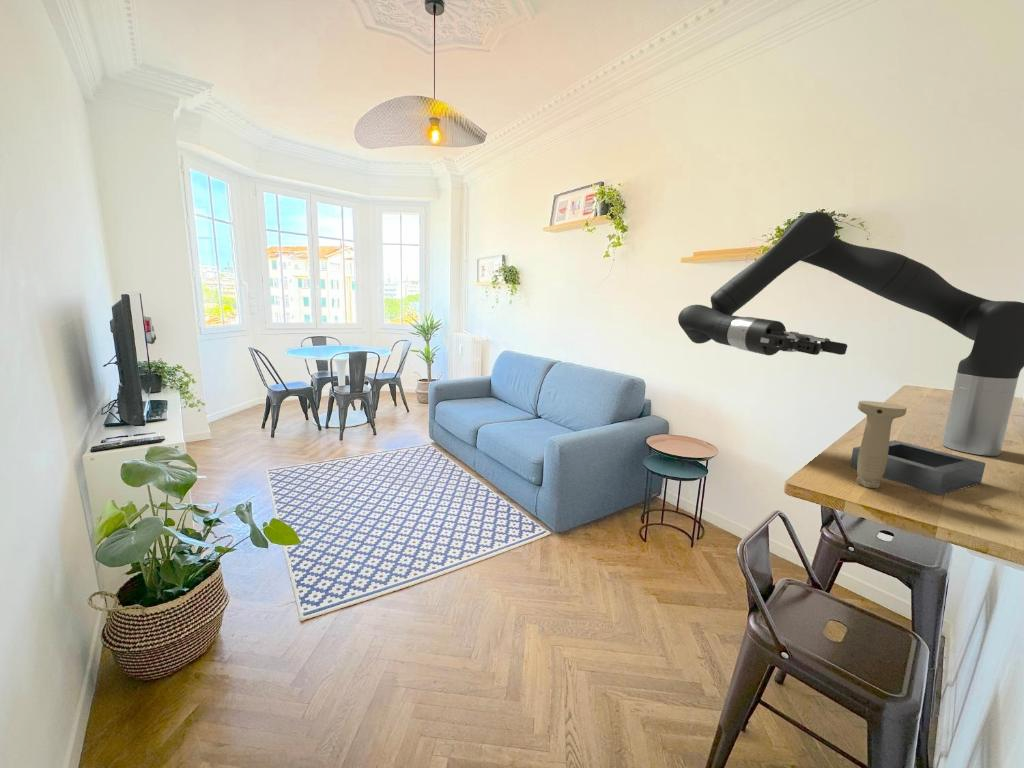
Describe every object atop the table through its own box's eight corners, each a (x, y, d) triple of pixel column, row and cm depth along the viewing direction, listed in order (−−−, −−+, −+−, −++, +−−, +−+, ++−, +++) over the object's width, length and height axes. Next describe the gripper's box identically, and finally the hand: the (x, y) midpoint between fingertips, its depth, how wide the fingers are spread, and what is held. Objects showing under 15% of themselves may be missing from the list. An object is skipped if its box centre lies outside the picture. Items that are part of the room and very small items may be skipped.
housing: (891, 458, 92) (894, 440, 91) (980, 483, 79) (985, 462, 79) (850, 466, 87) (853, 447, 86) (938, 495, 74) (943, 473, 73)
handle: (889, 495, 74) (905, 410, 71) (843, 483, 79) (856, 403, 76) (892, 487, 77) (907, 405, 75) (847, 476, 82) (860, 399, 79)
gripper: (737, 317, 92) (815, 329, 78) (779, 319, 98) (859, 330, 84) (730, 351, 94) (804, 369, 80) (772, 351, 100) (848, 368, 86)
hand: (832, 349), depth 82 cm, fingers open, 8 cm apart
